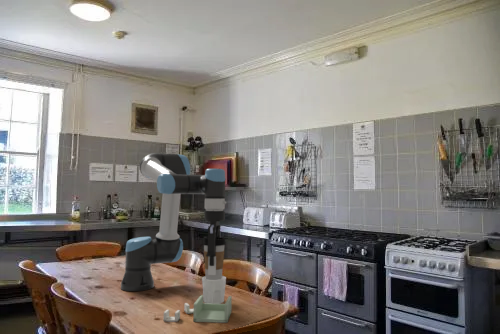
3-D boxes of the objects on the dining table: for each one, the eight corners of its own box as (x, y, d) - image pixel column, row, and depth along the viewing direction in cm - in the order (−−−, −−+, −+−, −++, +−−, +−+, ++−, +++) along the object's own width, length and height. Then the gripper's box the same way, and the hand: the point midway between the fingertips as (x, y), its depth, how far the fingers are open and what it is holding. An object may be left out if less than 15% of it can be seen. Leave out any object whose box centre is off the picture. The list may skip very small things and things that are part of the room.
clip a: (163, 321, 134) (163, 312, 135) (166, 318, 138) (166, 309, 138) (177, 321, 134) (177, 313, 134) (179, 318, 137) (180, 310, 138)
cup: (205, 306, 152) (206, 281, 153) (198, 300, 162) (199, 276, 162) (229, 303, 156) (229, 279, 157) (221, 297, 166) (221, 274, 166)
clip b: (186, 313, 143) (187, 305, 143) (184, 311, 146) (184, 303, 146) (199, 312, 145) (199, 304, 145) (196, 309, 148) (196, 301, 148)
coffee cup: (202, 275, 145) (203, 235, 146) (225, 275, 145) (225, 235, 146) (201, 280, 136) (202, 238, 137) (225, 280, 137) (226, 238, 138)
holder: (193, 321, 134) (193, 304, 135) (200, 311, 146) (200, 295, 147) (227, 322, 133) (227, 305, 134) (231, 312, 145) (231, 296, 146)
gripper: (220, 211, 132) (219, 278, 131) (228, 209, 152) (227, 267, 151) (199, 211, 133) (198, 278, 131) (209, 208, 153) (208, 266, 151)
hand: (213, 272), depth 141 cm, fingers closed on coffee cup, 7 cm apart
